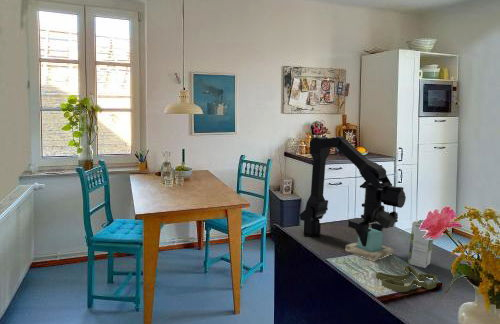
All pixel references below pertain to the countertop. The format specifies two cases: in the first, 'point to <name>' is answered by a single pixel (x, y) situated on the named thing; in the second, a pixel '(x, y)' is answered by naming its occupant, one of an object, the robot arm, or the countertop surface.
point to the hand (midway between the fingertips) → (369, 244)
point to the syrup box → (419, 247)
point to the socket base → (372, 256)
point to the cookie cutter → (396, 280)
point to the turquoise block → (372, 241)
